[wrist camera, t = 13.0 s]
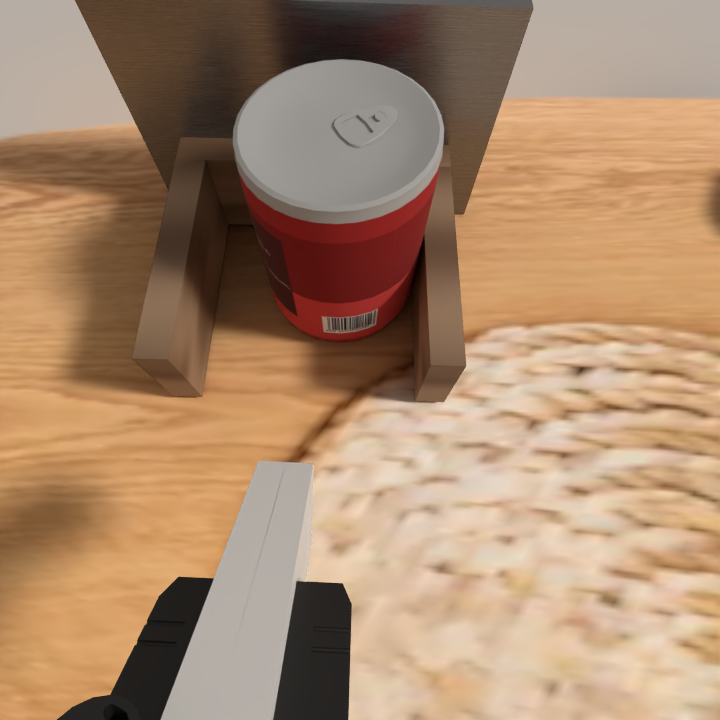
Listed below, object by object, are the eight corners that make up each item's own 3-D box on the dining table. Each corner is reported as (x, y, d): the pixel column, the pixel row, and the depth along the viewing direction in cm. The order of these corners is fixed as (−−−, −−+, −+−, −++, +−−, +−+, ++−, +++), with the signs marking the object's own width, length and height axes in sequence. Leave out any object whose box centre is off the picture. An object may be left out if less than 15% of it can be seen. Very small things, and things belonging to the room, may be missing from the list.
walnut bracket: (443, 401, 24) (466, 365, 20) (173, 396, 24) (131, 358, 19) (433, 209, 29) (449, 145, 24) (207, 203, 29) (180, 136, 24)
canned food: (436, 279, 28) (487, 118, 17) (347, 375, 25) (347, 253, 15) (338, 210, 29) (333, 28, 19) (246, 293, 27) (185, 135, 17)
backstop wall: (463, 214, 29) (533, 8, 18) (176, 206, 29) (71, -8, 18) (460, 177, 31) (524, -38, 20) (184, 169, 30) (89, -53, 19)
